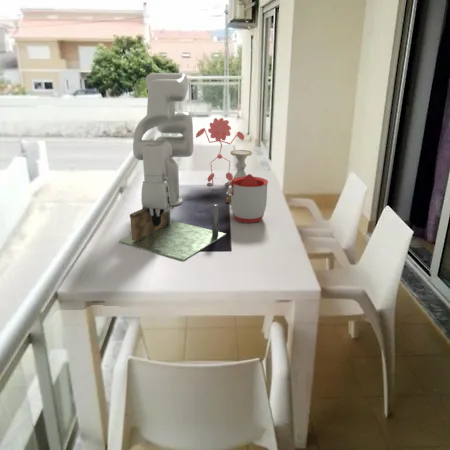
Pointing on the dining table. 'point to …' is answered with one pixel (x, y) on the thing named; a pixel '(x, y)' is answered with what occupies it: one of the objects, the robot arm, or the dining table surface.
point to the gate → (144, 223)
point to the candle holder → (239, 165)
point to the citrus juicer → (248, 198)
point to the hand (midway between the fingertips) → (156, 224)
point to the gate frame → (178, 238)
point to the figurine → (219, 139)
